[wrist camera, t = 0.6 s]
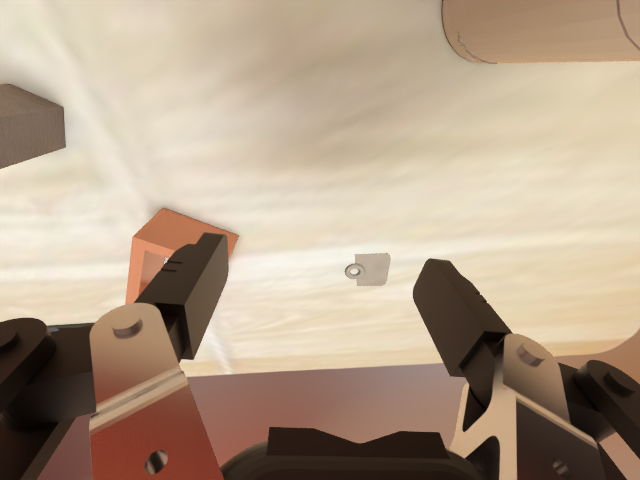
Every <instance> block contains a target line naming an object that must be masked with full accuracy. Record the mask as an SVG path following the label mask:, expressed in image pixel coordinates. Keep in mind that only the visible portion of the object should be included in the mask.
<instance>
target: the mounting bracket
mask: <svg viewBox="0 0 640 480" xmlns="http://www.w3.org/2000/svg"><path fill="white" fill-rule="evenodd" d="M389 265H390V255H389V254H387V253H385V254H355V264H351V265H349V266H348V267H347V268H346V269H345V274H346V276H347V277H348V278H350V279H357V286H382V285H384V284H385V283H386V281H387V276H388V270H389ZM354 268H357V269H358V270H359V272H358V273H357V274H356V275H352V274H351V273H350V270H351V269H354Z"/></svg>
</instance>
